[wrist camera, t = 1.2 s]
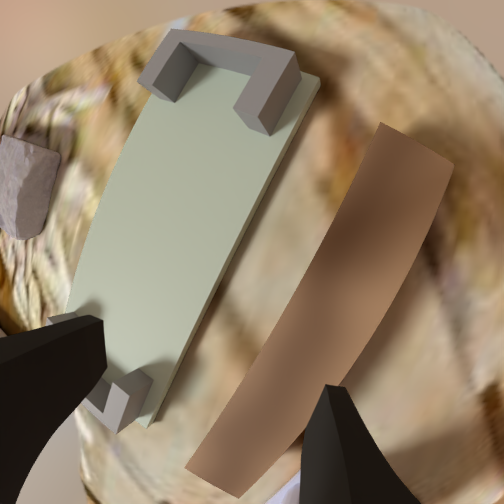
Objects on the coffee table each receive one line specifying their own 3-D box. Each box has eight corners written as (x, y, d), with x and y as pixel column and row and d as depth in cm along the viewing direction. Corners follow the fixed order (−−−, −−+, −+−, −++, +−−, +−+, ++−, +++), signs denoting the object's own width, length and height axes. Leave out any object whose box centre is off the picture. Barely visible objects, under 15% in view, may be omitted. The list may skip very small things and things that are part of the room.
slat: (425, 185, 16) (454, 164, 11) (258, 456, 19) (238, 498, 14) (369, 153, 17) (380, 122, 12) (213, 430, 20) (184, 467, 15)
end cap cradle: (320, 85, 17) (315, 50, 13) (152, 423, 21) (125, 446, 17) (188, 50, 20) (164, 22, 16) (65, 346, 23) (34, 356, 20)
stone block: (55, 244, 26) (68, 146, 23) (17, 253, 22) (26, 144, 19) (13, 211, 29) (23, 133, 26) (-17, 216, 25) (-9, 133, 22)
